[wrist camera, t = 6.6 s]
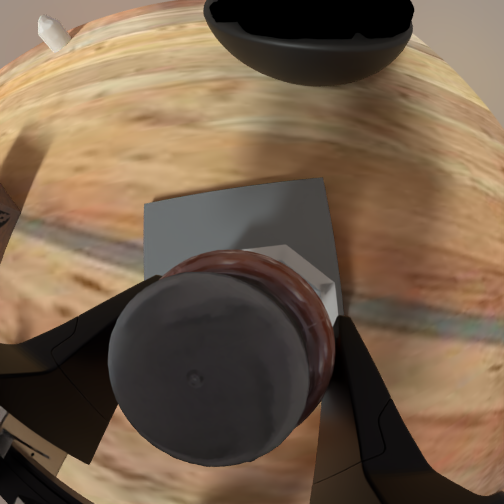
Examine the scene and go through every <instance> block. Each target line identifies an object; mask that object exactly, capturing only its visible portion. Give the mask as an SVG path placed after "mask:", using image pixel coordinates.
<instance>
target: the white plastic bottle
mask: <svg viewBox="0 0 504 504" xmlns="http://www.w3.org/2000/svg"><path fill="white" fill-rule="evenodd" d="M38 35H39V36H40V37H41V38H42V39H43V40H44V42H45V43H46V44H47V45H48V47H49V48H50V49H51V50H52V51H53V52H54V53H56V52H58V51H60V50H61V49H62V48H63V47H64V46H65V45H66V44H67V43H68V42H69V41H70V40H71V36H70V35H69V34H68V32H67V31H66V30H65V28H64V27H63V25H62V24H61V22H60V21H59V20H56V19H54V18H52V17H50V16H47V15H42V16H40V18H39V20H38Z"/></svg>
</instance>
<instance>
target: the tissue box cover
mask: <svg viewBox="0 0 504 504" xmlns="http://www.w3.org/2000/svg"><path fill="white" fill-rule="evenodd" d="M20 214H21V211H20V210H19V209H18V207H17V206H16V205H15V203H14V202H13V201H12V199H11V198H10V196H9V195H8V194H7V192H6V191H5V189H4V188H3V186H2V185H1V183H0V264H1V261H2V258H3V255H4V252H5V250H6V247H7V244H8V242H9V239H10V237H11V234H12V232H13V229H14V227H15V225H16V223H17V220H18V218H19V216H20Z"/></svg>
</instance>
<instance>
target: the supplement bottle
mask: <svg viewBox="0 0 504 504" xmlns="http://www.w3.org/2000/svg"><path fill="white" fill-rule="evenodd" d="M334 365H335V339H334V332H333V328H332V324H331V321H330V318H329V316H328V313H327V311H326V309H325V306H324V304H323V303H322V301H321V299H320V298H319V296H318V295H317V293H316V292H315V291H314V290H313V288H312V287H311V286H310V285H309V284H308V283H307V281H306V280H305V279H303V278H302V277H301V276H300V275H299V274H298V273H296V272H295V271H294V270H292V269H291V268H290V267H288V266H286V265H285V264H283V263H281V262H279V261H277V260H275V259H273V258H271V257H269V256H265V255H262V254H259V253H255V252H251V251H244V250H216V251H211V252H206V253H203V254H200V255H197V256H193V257H191V258H189V259H187V260H184V261H183V262H181V263H179V264H178V265H176V266H175V267H173V268H172V269H171V270H169V271H168V272H167V273H165V274H164V275H163V276H162V277H161V278H160V279H159V280H158V281H156V282H154V283H152V284H151V285H149V286H147V287H145V288H144V289H143V290H142V291H141V292H139V293H138V294H137V295H136V296H135V297H134V298H133V299H132V300H130V302H129V303H128V304H127V305H126V307H125V308H124V310H123V311H122V313H121V314H120V316H119V317H118V319H117V322H116V325H115V327H114V329H113V331H112V334H111V338H110V343H109V352H108V368H109V376H110V381H111V385H112V389H113V392H114V394H115V398H116V400H117V402H118V404H119V406H120V408H121V410H122V412H123V413H124V415H125V416H126V418H127V419H128V421H129V422H130V423H131V425H132V426H133V427H134V428H135V429H136V430H137V431H138V433H139V434H140V435H141V436H142V437H144V438H145V439H146V440H147V441H148V442H150V443H151V444H152V445H153V446H155V447H156V448H158V449H160V450H161V451H163V452H165V453H167V454H169V455H170V456H172V457H174V458H176V459H179V460H182V461H185V462H188V463H191V464H197V465H201V466H206V467H220V466H231V465H237V464H241V463H244V462H251V461H254V460H255V459H257V458H258V457H261V456H263V455H265V454H267V453H269V452H270V451H272V450H273V449H275V448H276V447H277V446H279V445H280V444H281V443H282V442H283V441H284V440H285V439H286V438H287V437H288V436H289V434H290V433H291V432H292V431H293V429H294V428H296V427H297V426H298V425H300V424H301V423H302V422H303V421H304V420H305V419H306V418H307V417H308V416H309V415H310V414H311V413H312V412H313V411H314V409H315V408H316V407H317V406H318V404H319V403H320V402H321V400H322V399H323V397H324V395H325V393H326V391H327V389H328V386H329V383H330V380H331V377H332V374H333V370H334Z"/></svg>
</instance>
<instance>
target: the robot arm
mask: <svg viewBox="0 0 504 504" xmlns="http://www.w3.org/2000/svg"><path fill="white" fill-rule="evenodd" d="M161 277H162V276H161V275H154V276H152V277H150V278H148V279H146V280H145V281H143V282H141V283H139V284H137V285H135V286H133V287H131V288H129V289H127V290H125V291H124V292H122V293H120V294H118V295H116V296H114V297H112V298H110V299H109V300H107V301H105V302H103V303H101V304H99V305H97V306H96V307H94V308H92V309H90V310H88V311H86V312H84V313H83V314H81V315H79V317H78V316H77V317H75V318H73V319H72V320H70V321H68V322H66V323H64V324H62V325H60V326H58V327H56V328H54V329H52V330H50V331H48V332H45V333H43V334H41V335H39V336H36V337H34V338H32V339H30V340H27V341H25V342H22V343H19V344H2V343H0V495H1V497H2V498H3V499H4V500H5V501H6V502H7V503H8V504H94V503H92V502H91V501H89V500H88V499H86V498H85V497H83V496H82V495H80V494H79V493H77V492H76V491H74V490H73V489H71V488H70V487H69V486H67V485H66V484H64V483H63V482H62V481H60V480H59V479H58V478H57V477H56V476H57V474H58V472H59V470H60V468H61V466H62V464H63V462H64V460H65V458H66V456H67V455H68V454H69V455H71V456H73V457H75V458H77V459H78V460H80V461H82V462H84V463H86V464H88V465H89V464H90V463H91V461H92V458H93V456H94V454H95V452H96V450H97V448H98V445H99V443H100V441H101V439H102V437H103V435H104V433H105V430H106V428H107V426H108V424H109V422H110V420H111V418H112V416H113V414H114V412H115V409H116V407H117V405H118V402H117V400H116V398H115V394H114V392H113V389H112V385H111V381H110V376H109V368H108V352H109V343H110V338H111V334H112V331H113V329H114V327H115V325H116V322H117V319H118V317H119V316H120V314H121V313H122V311H123V310H124V308H125V307H126V305H127V304H128V303H129V302H130V300H132V299H133V298H134V297H135V296H136V295H137V294H138V293H139V292H141V291H142V290H143V289H144V288H145V287H147V286H149V285H151V284H152V283H154V282H156V281H158V280H159V279H160V278H161ZM332 328H333V332H334V339H335V365H334V370H333V374H332V377H331V380H330V383H329V386H328V389H327V391H326V393H325V395H324V397H323V399H322V403H321V416H320V427H319V437H318V447H317V455H316V464H315V471H314V478H313V485H312V491H311V497H310V503H309V504H504V492H503V491H499V492H497V493H494V494H492V495H489V496H481V495H477V494H475V493H473V492H471V491H469V490H467V489H465V488H463V487H462V486H460V485H458V484H456V483H454V482H453V481H451V480H449V479H447V478H446V477H444V476H442V475H441V474H439V473H437V472H436V471H435V470H434V469H433V468H432V467H431V466H430V465H429V464H428V463H427V461H426V460H425V458H424V456H423V455H422V453H421V451H420V449H419V448H418V446H417V444H416V443H415V441H414V439H413V438H412V436H411V434H410V433H409V431H408V429H407V427H406V425H405V424H404V422H403V420H402V418H401V416H400V414H399V412H398V410H397V408H396V406H395V404H394V402H393V400H392V398H391V396H390V394H389V392H388V390H387V388H386V386H385V383H384V381H383V379H382V377H381V375H380V373H379V371H378V369H377V367H376V365H375V363H374V361H373V360H372V358H371V356H370V354H369V352H368V350H367V348H366V346H365V344H364V342H363V340H362V338H361V336H360V335H359V333H358V331H357V329H356V327H355V325H354V323H353V322H352V320H351V318H350V317H349V316H343V315H338V316H337V318H336V320H335V322H334V325H333V327H332Z"/></svg>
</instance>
